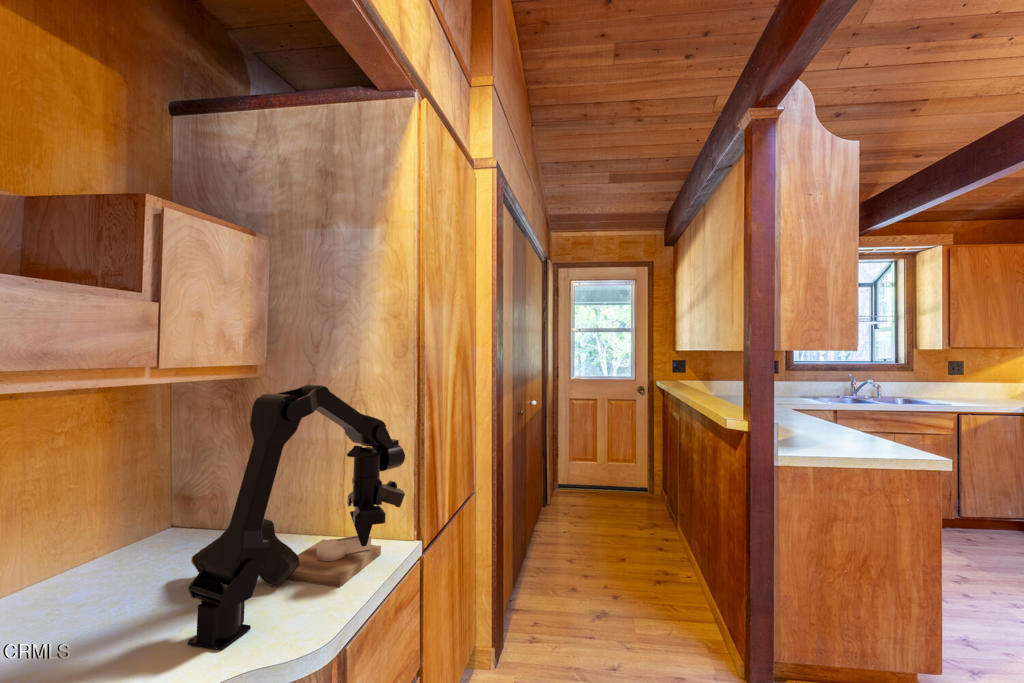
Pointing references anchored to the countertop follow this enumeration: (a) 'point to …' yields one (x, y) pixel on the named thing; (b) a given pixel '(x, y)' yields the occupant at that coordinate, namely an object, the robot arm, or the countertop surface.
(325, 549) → the cream elongated piece
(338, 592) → the countertop surface
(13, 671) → the countertop surface
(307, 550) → the panel
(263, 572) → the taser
